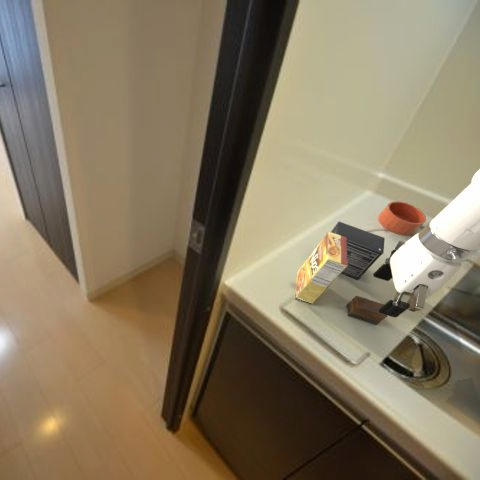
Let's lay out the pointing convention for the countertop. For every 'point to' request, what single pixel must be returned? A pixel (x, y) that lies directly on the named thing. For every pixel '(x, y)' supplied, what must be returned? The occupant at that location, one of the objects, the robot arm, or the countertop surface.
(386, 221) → the bowl
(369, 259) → the small box
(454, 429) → the countertop surface
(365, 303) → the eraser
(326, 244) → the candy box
